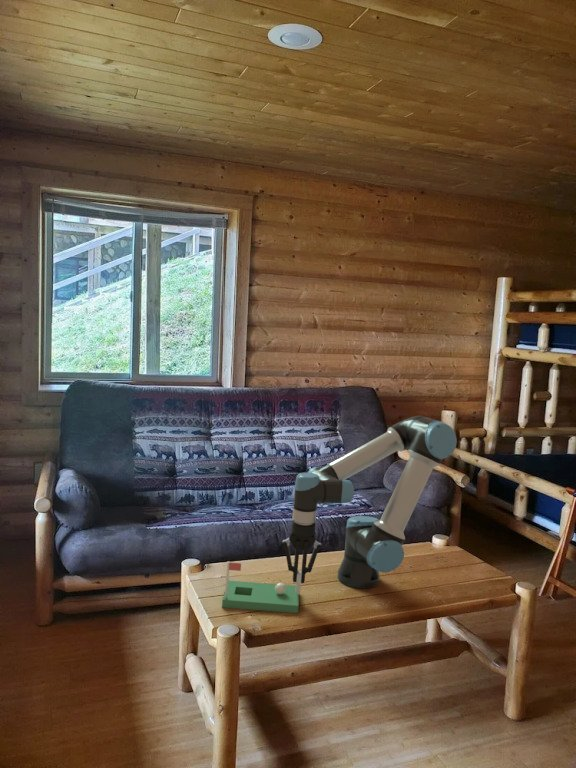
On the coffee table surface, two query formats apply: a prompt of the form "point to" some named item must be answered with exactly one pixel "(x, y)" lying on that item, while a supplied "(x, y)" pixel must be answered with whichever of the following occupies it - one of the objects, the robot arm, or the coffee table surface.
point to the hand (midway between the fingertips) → (297, 591)
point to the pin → (229, 567)
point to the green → (260, 597)
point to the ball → (280, 588)
